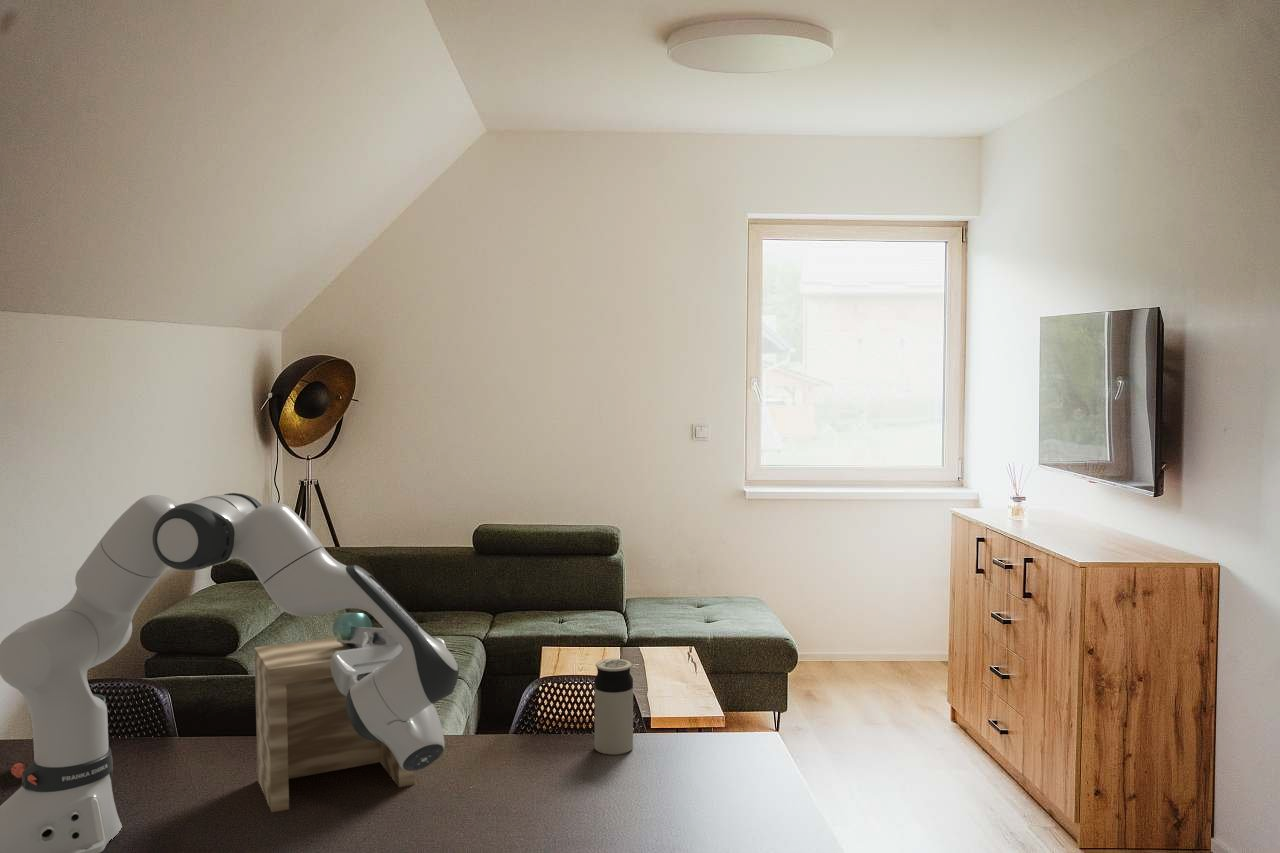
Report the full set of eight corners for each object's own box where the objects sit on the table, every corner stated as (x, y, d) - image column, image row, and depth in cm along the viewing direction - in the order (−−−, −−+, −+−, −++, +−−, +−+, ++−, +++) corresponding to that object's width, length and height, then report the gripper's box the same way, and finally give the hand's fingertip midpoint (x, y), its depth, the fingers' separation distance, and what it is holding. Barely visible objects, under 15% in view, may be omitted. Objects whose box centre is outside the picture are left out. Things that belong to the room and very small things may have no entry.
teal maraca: (407, 646, 187) (410, 614, 188) (379, 646, 183) (381, 613, 184) (357, 642, 202) (360, 612, 203) (330, 641, 198) (332, 612, 199)
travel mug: (640, 746, 218) (640, 661, 217) (619, 758, 212) (619, 671, 210) (608, 739, 223) (608, 656, 221) (587, 750, 216) (586, 665, 215)
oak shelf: (414, 784, 199) (412, 647, 197) (271, 812, 186) (268, 667, 185) (391, 756, 213) (389, 628, 211) (257, 780, 201) (254, 645, 199)
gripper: (460, 666, 183) (439, 612, 193) (342, 683, 173) (326, 626, 183) (455, 691, 186) (434, 637, 196) (338, 710, 176) (322, 652, 186)
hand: (381, 632), depth 190 cm, fingers closed on teal maraca, 4 cm apart
